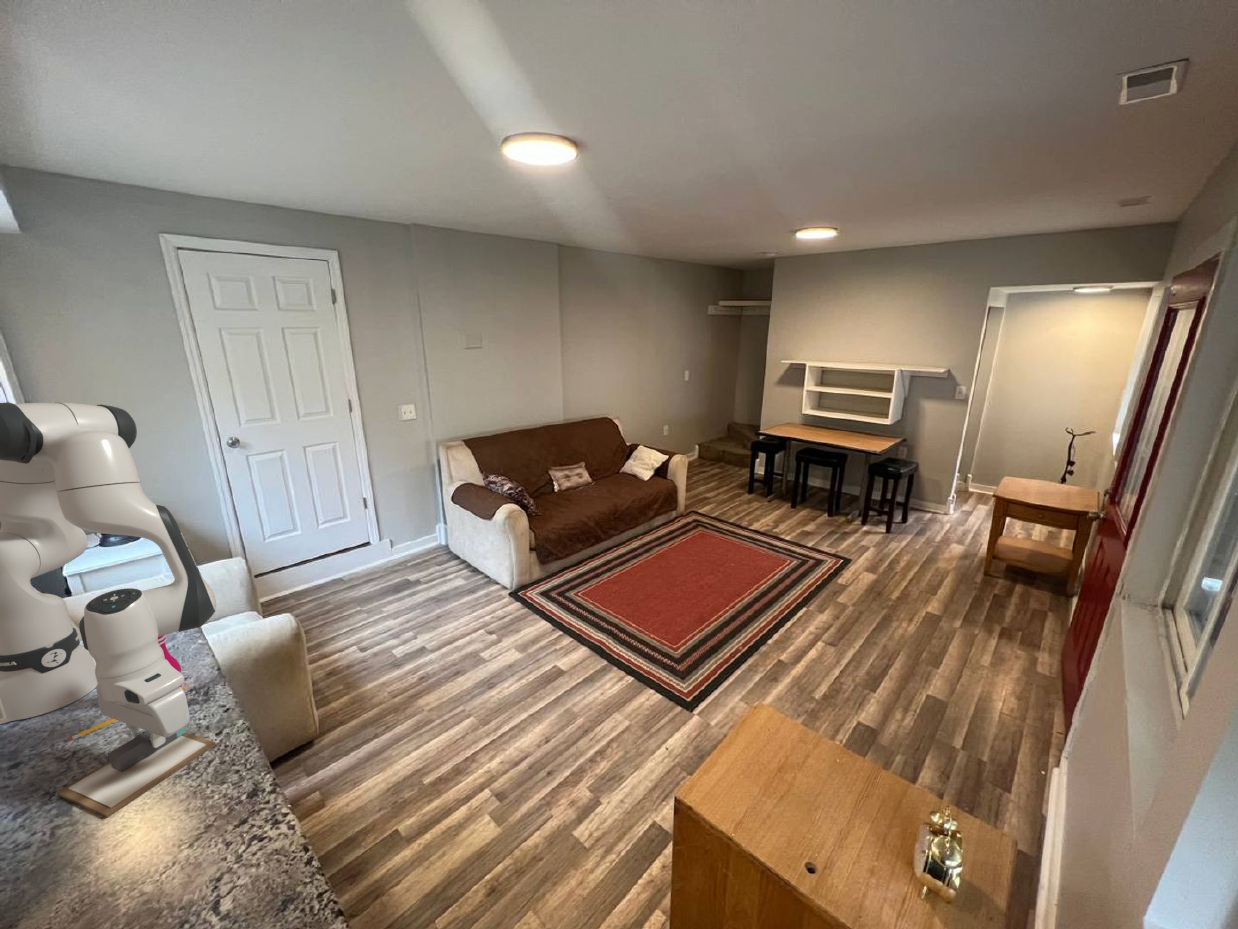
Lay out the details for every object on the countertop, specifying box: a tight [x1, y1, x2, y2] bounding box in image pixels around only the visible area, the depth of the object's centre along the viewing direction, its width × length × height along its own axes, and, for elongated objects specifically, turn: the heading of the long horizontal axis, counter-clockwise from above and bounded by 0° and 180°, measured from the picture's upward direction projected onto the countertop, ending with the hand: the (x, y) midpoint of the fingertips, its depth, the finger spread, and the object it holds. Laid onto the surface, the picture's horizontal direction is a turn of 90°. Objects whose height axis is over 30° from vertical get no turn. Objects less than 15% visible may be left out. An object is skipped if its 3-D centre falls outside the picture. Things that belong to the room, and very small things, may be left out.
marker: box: [107, 726, 188, 772], centre depth 90 cm, size 3×10×3 cm, turn 161°
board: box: [56, 732, 216, 819], centre depth 87 cm, size 14×16×1 cm
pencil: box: [66, 685, 192, 742], centre depth 102 cm, size 1×19×1 cm, turn 148°
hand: (150, 742), depth 90 cm, fingers closed on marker, 3 cm apart
